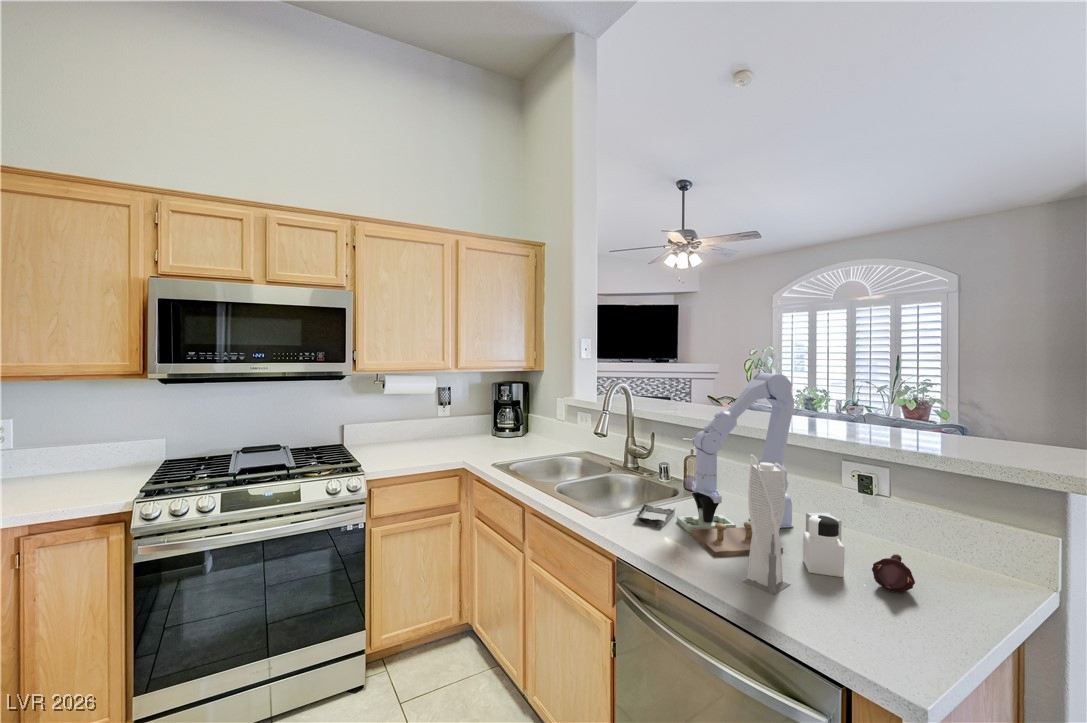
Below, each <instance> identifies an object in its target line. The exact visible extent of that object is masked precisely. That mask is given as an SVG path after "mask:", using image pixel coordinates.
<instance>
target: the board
mask: <svg viewBox="0 0 1087 723" xmlns="http://www.w3.org/2000/svg"><path fill="white" fill-rule="evenodd" d="M715 523H716V522H715ZM715 528H716V529H700V530H691V532H690V535H691V536H692V537H693V538H694V539H695V540H697V542H699V543H700V544H701V545H702V546H703V547H704V548H705V549H706V550H707V551H708V552H709V553H711V555H713V556H714V557H727V556H728V557H730V556H731V557H732V556H746V555H747V556H748V555H750V546H751V539H752V528H751V522H750V521H744V522H743V527H736V528H726V525H725V524H724V523H719V522H717V523H716V524H715ZM780 547H781V546H780ZM782 553H784V548H783V547H781V554H782Z"/></svg>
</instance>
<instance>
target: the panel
mask: <svg viewBox="0 0 1087 723" xmlns="http://www.w3.org/2000/svg"><path fill="white" fill-rule="evenodd" d="M676 522H677V523H678V525H680V526H681V527H682V528H683V529H685V530H686V532H688V533H691V530H700V529H716V528H715V524H716V522H717V523H722V524H725V525H726V528H737V525H736V523H734V522H733V521H731V520H730V519H729V518H728V517H725V516H724V515H723V514H714V517H713V520H712V522H704V518H703V509H702V508H699V514H698V515H686V516H685V515H683V516H676ZM689 523H692V524H693V525H690V524H689Z"/></svg>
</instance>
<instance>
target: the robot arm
mask: <svg viewBox="0 0 1087 723" xmlns="http://www.w3.org/2000/svg"><path fill="white" fill-rule="evenodd" d="M792 388H793V382H791V381H790V379H789V378H788V377H787V376H786V375H784V374H782V373H769V372H768V373H767V372H758V373H756V374H755V375H754V376H753V378H751V379H750V380H749V381H748V383H747V384H746V387H745V388H744V389H743V390H742V392H741V393H740V394H739V396H738V397H737V398H736V400H734V402H733V403H732V404H731V405H730V407H729V408H727V410H725V411H719V412H716V413H715V414H714V415H713V417H714V418H713V419H712V420H711V421H710V422H709V423H708V424H707V426H706V425H705V426H704V427H703V430H701V431H698V432H697V433H696V434H695V436H694V438H693V439H692V444H693V446H694V448H695V451H696V453H695V454H696V456H695V480H694V481H692V482H691V490H692V493H691V495H692V497H693V499H694V501H695V505H696V509H697V513H698V515H699V508H702V509H703V518H704V522H712V520H713V517H714V515H715V513H716V511H717V508H718V506H719V504H722V503H723V502H722V498H723V497H722V495H721V494H720V492H719V489H718V488H717V487H718V486H717V484H718V482H717V480H718V452H719V451H720V450H721V449H722V443H723V441H724V439H726V437H728V435H729V434H730V433H731V432H732V431H733V430H734V429H735V427H737V425H738V422H737V421H738V420H737V419H739V418H740V416H741V415H742V414H744V413H745V412H746V411H747V410H748V408H749V407H751V406H752V405H753V403H755V402H756V401H757V400H761V399H762V400H763V399H766V400H767V402H768V403H769V404H770V405H771V410H770V411H771V412H770V416H769V422H768V427H767V431H766V437H765V442H764V447H763V452H762V457H761V458H760V459H759V460H757V461H758V464H759V465H760V463H762V462H766V463H772V464H775V463H778V464H780V465H781V466H782V467H783V468H784V471H785V507H784V513H783V518H782V522H781V526H780V528H781V529H782V528H784V529H785V528H794V525H793V524H792V523H793V503H792V499H791V497H790V495H789V494H788V493H786V492H787V491H788V488H789V485H788V484H789V483H788V479H787V477H788V471H787V468H786V467H785V465H784V457H785V454H786V447H787V443H788V437H789V432H790V427H791V423H792V418H793V417H792V416H793V412H794V408H795V402H794V397H793V396H794V395H793V392H792ZM777 467H778V468H780V467H779V466H778V465H777ZM780 469H781V468H780ZM781 470H782V469H781ZM748 520H749V521H750V516H749V517H748Z"/></svg>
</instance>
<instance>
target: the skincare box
mask: <svg viewBox="0 0 1087 723" xmlns="http://www.w3.org/2000/svg"><path fill="white" fill-rule="evenodd" d="M815 515H822V516H828V517H831V518H833V519H835V520H836V521H837V522H838V523H839V540H840V541H841V542H842V522H843V521H842V519H840V518H837V517H835V516H833V515H832V514H830V513H829V512H808V513H807V512H806V513H805V532H809V518H810V517H811V516H815Z"/></svg>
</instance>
